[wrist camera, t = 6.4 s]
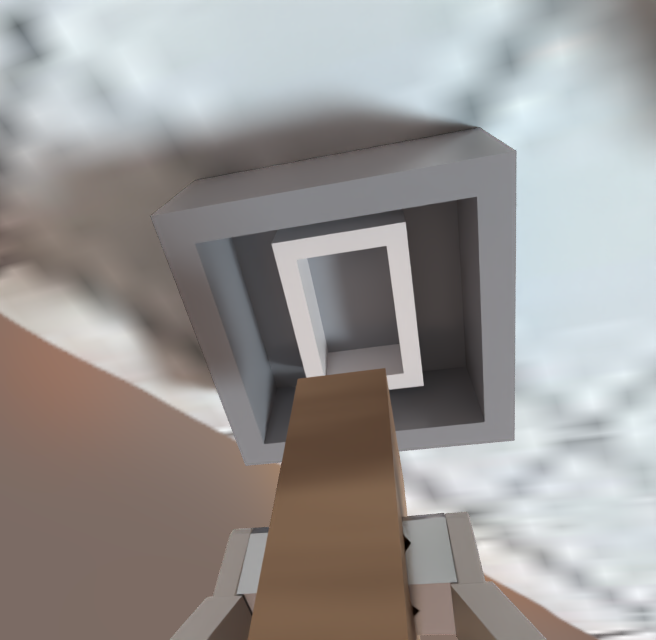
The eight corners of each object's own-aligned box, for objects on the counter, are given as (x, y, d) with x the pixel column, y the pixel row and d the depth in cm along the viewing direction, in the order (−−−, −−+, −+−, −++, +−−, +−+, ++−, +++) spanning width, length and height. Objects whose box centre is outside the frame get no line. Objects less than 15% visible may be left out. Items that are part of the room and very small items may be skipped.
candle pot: (194, 180, 20) (150, 215, 16) (479, 127, 19) (516, 150, 14) (264, 396, 26) (245, 465, 22) (486, 371, 24) (514, 440, 20)
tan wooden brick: (297, 379, 13) (230, 728, 6) (385, 367, 13) (415, 724, 6) (327, 488, 15) (301, 841, 8) (403, 482, 15) (441, 844, 8)
